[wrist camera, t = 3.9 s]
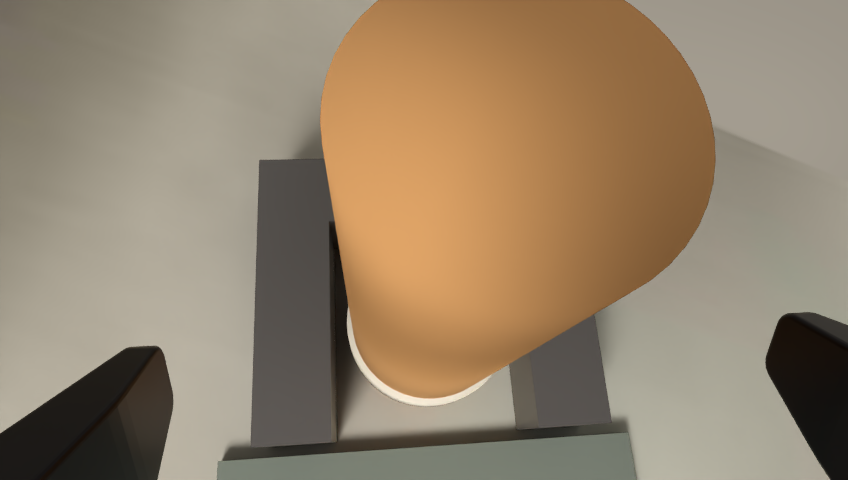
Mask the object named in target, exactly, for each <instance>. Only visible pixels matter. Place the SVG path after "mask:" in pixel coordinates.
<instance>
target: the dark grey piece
mask: <svg viewBox="0 0 848 480" xmlns="http://www.w3.org/2000/svg"><path fill="white" fill-rule="evenodd" d="M334 249H339V244H338V238H337V232H336V226H335V220H334V214H333V208H332V202H331V195H330V189H329V183H328V177H327V171H326V165H325V159H292V160H259V190H258V223H257V255H256V288H255V321H254V354H253V387H252V420H251V447H274V446H288V445H303V444H318V443H332V442H337V411H336V347H335V282H334ZM509 367H510V376H511V385H512V394H513V403H514V412H515V421H516V430H521V429H536V428H551V427H565V426H580V425H591V424H602V423H612V420H611V414H610V408H609V402H608V396H607V389H606V383H605V377H604V371H603V365H602V359H601V353H600V347H599V341H598V335H597V329H596V322H595V316H594V314H593V315H592V316H590V317H588V318H587V319H585V320H583V321H581V322H580V323H578V324H576V325H575V326H573V327H571V328H570V329H568V330H566V331H564V332H563V333H561V334H559V335H558V336H556V337H554V338H553V339H551V340H549V341H547V342H546V343H544V344H542V345H541V346H539V347H537V348H536V349H534V350H532V351H530V352H529V353H527V354H525V355H524V356H522V357H520V358H519V359H517V360H515V361H513V362H512V363H510V364H509Z"/></svg>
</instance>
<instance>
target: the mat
mask: <svg viewBox="0 0 848 480" xmlns="http://www.w3.org/2000/svg"><path fill="white" fill-rule="evenodd" d="M217 480H636V475H635V469H634V463H633V457H632V452H631V446H630V440H629V434H628V432H627V433H611V434H597V435H583V436H569V437H555V438H541V439H526V440H512V441H498V442H484V443H470V444H456V445H441V446H427V447H413V448H399V449H385V450H370V451H356V452H342V453H328V454H314V455H300V456H285V457H271V458H257V459H243V460H229V461H218V468H217Z"/></svg>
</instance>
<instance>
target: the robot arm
mask: <svg viewBox="0 0 848 480" xmlns="http://www.w3.org/2000/svg"><path fill="white" fill-rule="evenodd" d="M765 363H766V369H767V372H768V374H769V376H770V378H771V380H772V382H773V383H774V385H775V387H776V389H777V390H778V392H779V394H780V396H781V397H782V399H783V401H784V403H785V404H786V406H787V408H788V410H789V411H790V413H791V415H792V417H793V418H794V420H795V422H796V424H797V425H798V427H799V429H800V431H801V432H802V434H803V436H804V438H805V440H806V441H807V443H808V445H809V447H810V448H811V450H812V452H813V453H814V455H815V457H816V458H817V460H818V462H819V463H820V465H821V466H822V468H823V469H824V471H825V472H826V474H827V475H828V477H829V478H830V480H848V325H846V324H843V323H840V322H838V321H835V320H832V319H830V318H827V317H824V316H822V315H819V314H816V313H811V312H804V313H788V314H785V315H783V316H782V317H781V318H780V319H779V321H778V323H777V326H776V329H775V332H774V335H773V337H772V340H771V343H770V346H769V349H768V352H767V355H766V362H765ZM172 410H173V392H172V387H171V383H170V379H169V374H168V370H167V366H166V361H165V357H164V354H163V352H162V350H161V348H159V347H157V346H139V347H128V348H126V349H124V350H122V351H121V352H119V353H118V354H117V355H115V356H114V357H112V358H111V359H109V360H108V361H106V362H105V363H103V364H102V365H100V366H99V367H97V368H96V369H94V370H93V371H91V372H90V373H89V374H87V375H86V376H84V377H83V378H81V379H80V380H78V381H77V382H75V383H74V384H72V385H71V386H69V387H68V388H66V389H65V390H64V391H62V392H61V393H59V394H58V395H56V396H55V397H53V398H52V399H50V400H49V401H47V402H46V403H44V404H43V405H41V406H40V407H39V408H37V409H36V410H34V411H33V412H31V413H30V414H28V415H27V416H25V417H24V418H22V419H21V420H19V421H18V422H16V423H15V424H14V425H12V426H11V427H9V428H8V429H6V430H5V431H3V432H2V433H0V480H157V479H158V474H159V470H160V465H161V461H162V456H163V452H164V447H165V442H166V438H167V433H168V429H169V424H170V420H171V415H172Z"/></svg>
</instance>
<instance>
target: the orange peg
mask: <svg viewBox="0 0 848 480" xmlns="http://www.w3.org/2000/svg"><path fill="white" fill-rule="evenodd" d="M320 125H321V137H322V147H323V153H324V159H325V165H326V171H327V177H328V183H329V189H330V195H331V202H332V208H333V214H334V220H335V226H336V232H337V238H338V244H339V250H340V256H341V262H342V268H343V274H344V280H345V287H346V293H347V299H348V305H349V306H348V312H347V332H348V338H349V343H350V347H351V351H352V354H353V357H354V359H355V362H356V364H357V365H358V367H359V369H360V371H361V372H362V374H363V375H364V376H365V378H366V379H367V380H368V381H369V382H370V383H371V384H372V385H373V386H374V387H375V388H376V389H377V390H379V391H380V392H381V393H383V394H384V395H386V396H388V397H389V398H391V399H393V400H396V401H398V402H400V403H404V404H408V405H412V406H419V407H434V406H441V405H445V404H449V403H452V402H454V401H457V400H459V399H461V398H463V397H465V396H467V395H469V394H470V393H472V392H474V391H475V390H477V389H478V388H479V387H480V386H482V385H483V384H484V383H485V382H486V381H487V380H488V379H489V378H490V377H491V376H492V374H493V373H495V372H496V371H498V370H500V369H501V368H503V367H505V366H507V365H508V364H510V363H512V362H513V361H515V360H517V359H519V358H520V357H522V356H524V355H525V354H527V353H529V352H530V351H532V350H534V349H536V348H537V347H539V346H541V345H542V344H544V343H546V342H547V341H549V340H551V339H553V338H554V337H556V336H558V335H559V334H561V333H563V332H564V331H566V330H568V329H570V328H571V327H573V326H575V325H576V324H578V323H580V322H581V321H583V320H585V319H587V318H588V317H590V316H592V315H593V314H595V313H597V312H598V311H600V310H602V309H604V308H605V307H607V306H609V305H610V304H612V303H614V302H615V301H617V300H619V299H621V298H622V297H624V296H626V295H627V294H629V293H631V292H632V291H634V290H636V289H637V288H639V287H641V286H642V285H644V284H646V283H647V282H649V281H651V280H652V279H653V278H654V277H655V276H657V275H658V274H659V273H660V272H661V271H663V270H664V269H665V268H666V267H667V266H669V265H670V264H671V263H672V261H673V260H674V259H675V258H676V257H677V256H678V255H679V253H680V252H681V251H682V250H683V249H684V248H685V247H686V245H687V244H688V242H689V240H690V239H691V237H692V236H693V234H694V233H695V231H696V229H697V228H698V226H699V224H700V222H701V219H702V217H703V215H704V212H705V210H706V208H707V205H708V201H709V198H710V194H711V190H712V186H713V180H714V170H715V140H714V133H713V128H712V122H711V117H710V114H709V110H708V107H707V104H706V102H705V98H704V96H703V93H702V91H701V89H700V87H699V84H698V83H697V80H696V78H695V77H694V74H693V72H692V71H691V70H690V68H689V66H688V64H687V63H686V61H685V60H684V58H683V57H682V55H681V53H680V52H679V51H678V50H677V49H676V48H675V46H674V45H673V44H672V42H671V41H670V40H669V39H668V37H667V36H666V35H665V34H664V33H663V32H662V31H661V30H660V29H659V28H658V27H657V26H656V25H655V24H654V23H653V22H652V21H651V20H649V19H648V18H647V17H646V16H645V15H643V14H642V13H641V12H640V11H638V10H637V9H636V8H635V7H633V6H632V5H630V4H629V3H628V2H626V1H625V0H378V1H377V2H376V3H374V4H373V5H372V6H371V7H370V8H369V9H368V10H367V11H366V12H365V13H364V14H363V15H362V16H361V17H360V18H359V19H358V20H357V21H356V23H355V24H354V25H353V27H352V28H351V29H350V30H349V32H348V33H347V34H346V36H345V37H344V39H343V41H342V42H341V44H340V46H339V48H338V49H337V51H336V53H335V55H334V57H333V60H332V63H331V65H330V68H329V70H328V73H327V76H326V80H325V84H324V89H323V93H322V99H321V114H320Z"/></svg>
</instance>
